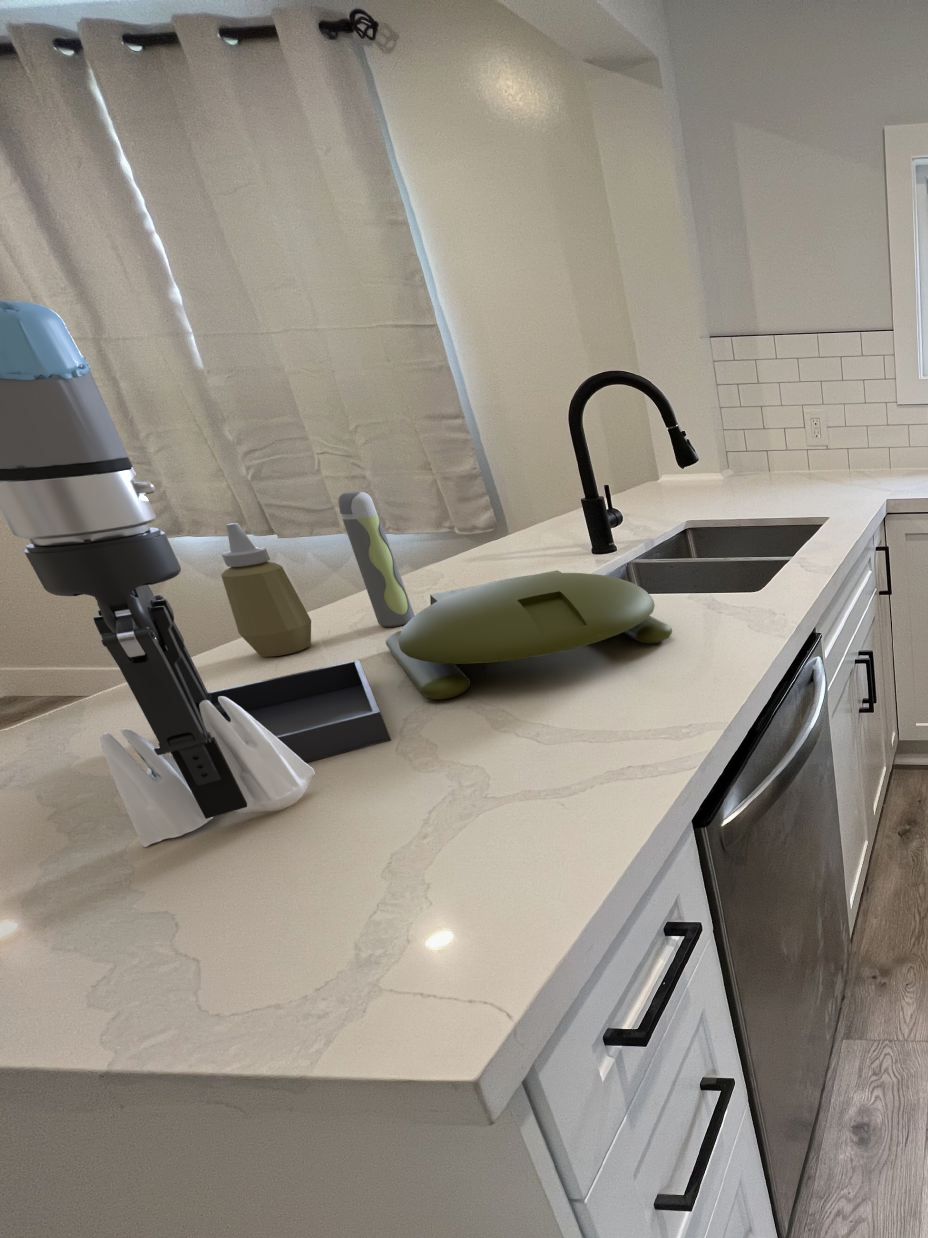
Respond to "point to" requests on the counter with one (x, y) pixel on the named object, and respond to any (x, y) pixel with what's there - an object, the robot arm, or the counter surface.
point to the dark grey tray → (314, 710)
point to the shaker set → (164, 794)
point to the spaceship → (518, 624)
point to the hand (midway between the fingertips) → (227, 798)
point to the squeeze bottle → (263, 599)
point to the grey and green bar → (375, 559)
